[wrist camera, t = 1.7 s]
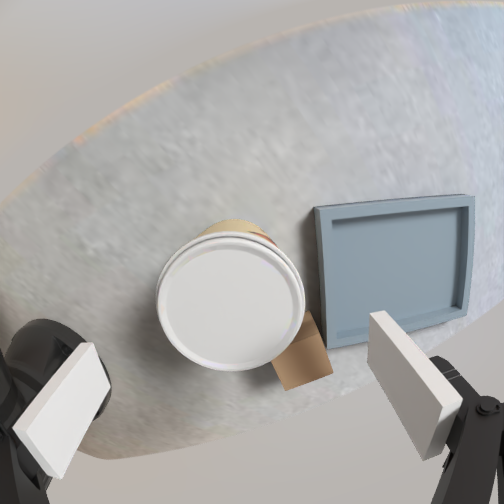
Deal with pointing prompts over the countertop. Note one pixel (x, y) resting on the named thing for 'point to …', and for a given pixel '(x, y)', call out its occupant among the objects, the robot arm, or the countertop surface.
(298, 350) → the walnut block
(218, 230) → the coffee cup
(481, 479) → the robot arm
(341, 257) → the collection tray
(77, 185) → the countertop surface
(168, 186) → the countertop surface
